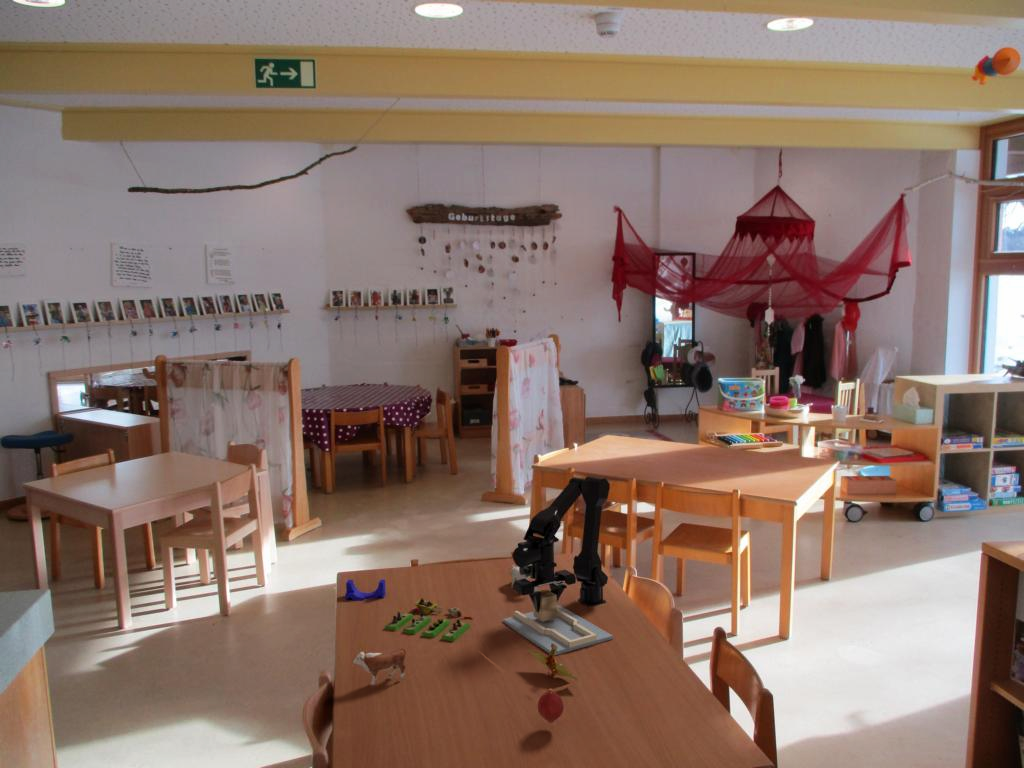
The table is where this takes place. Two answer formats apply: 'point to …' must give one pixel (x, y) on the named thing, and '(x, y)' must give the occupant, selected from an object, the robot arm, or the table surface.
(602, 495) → the robot arm
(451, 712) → the table surface
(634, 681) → the table surface
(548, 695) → the onion
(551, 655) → the origami crane
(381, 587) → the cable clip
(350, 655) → the table surface
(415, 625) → the toy garden set
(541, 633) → the keyhole board
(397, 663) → the bull figurine
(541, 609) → the stud block
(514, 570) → the unicorn figurine
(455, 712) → the table surface
